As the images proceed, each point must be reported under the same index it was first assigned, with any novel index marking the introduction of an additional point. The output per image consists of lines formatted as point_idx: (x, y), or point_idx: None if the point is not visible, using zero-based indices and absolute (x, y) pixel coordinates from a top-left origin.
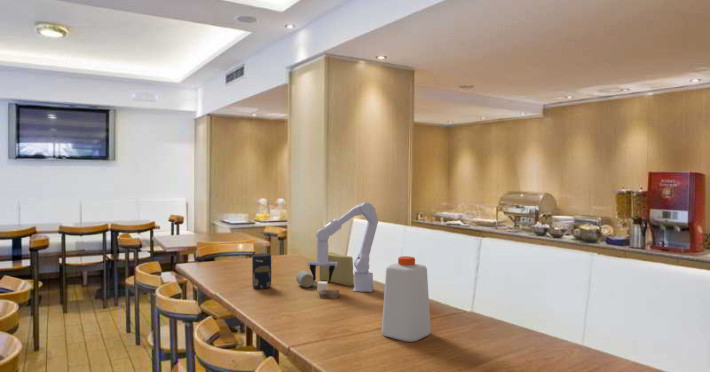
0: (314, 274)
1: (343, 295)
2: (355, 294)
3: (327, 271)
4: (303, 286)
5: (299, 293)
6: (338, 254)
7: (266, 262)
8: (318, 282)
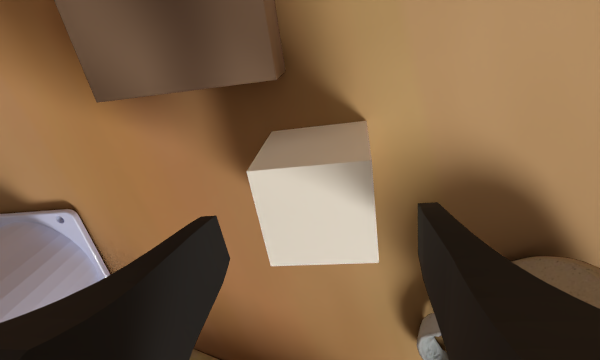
0: (448, 260)
1: (68, 60)
2: (5, 126)
3: None
4: (555, 257)
5: (584, 6)
6: None
7: None
8: (366, 209)
